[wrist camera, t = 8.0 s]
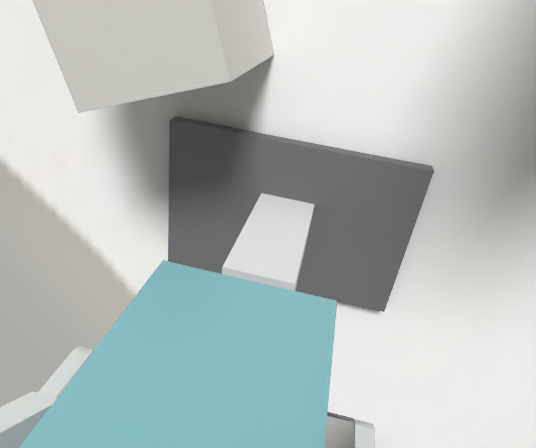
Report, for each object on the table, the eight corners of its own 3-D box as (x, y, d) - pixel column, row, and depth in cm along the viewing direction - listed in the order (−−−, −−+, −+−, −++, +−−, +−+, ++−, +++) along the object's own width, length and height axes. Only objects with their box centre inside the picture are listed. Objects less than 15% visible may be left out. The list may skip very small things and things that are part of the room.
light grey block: (244, -94, 15) (173, -149, 10) (273, 54, 18) (230, 81, 12) (123, -55, 17) (-1, -82, 11) (164, 78, 19) (78, 112, 13)
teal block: (337, 300, 12) (311, 585, 6) (304, 416, 14) (266, 693, 9) (163, 260, 12) (-11, 485, 7) (162, 379, 15) (37, 614, 9)
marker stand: (431, 166, 18) (464, 247, 12) (383, 304, 22) (390, 417, 16) (175, 117, 20) (91, 169, 14) (172, 255, 24) (106, 343, 18)
